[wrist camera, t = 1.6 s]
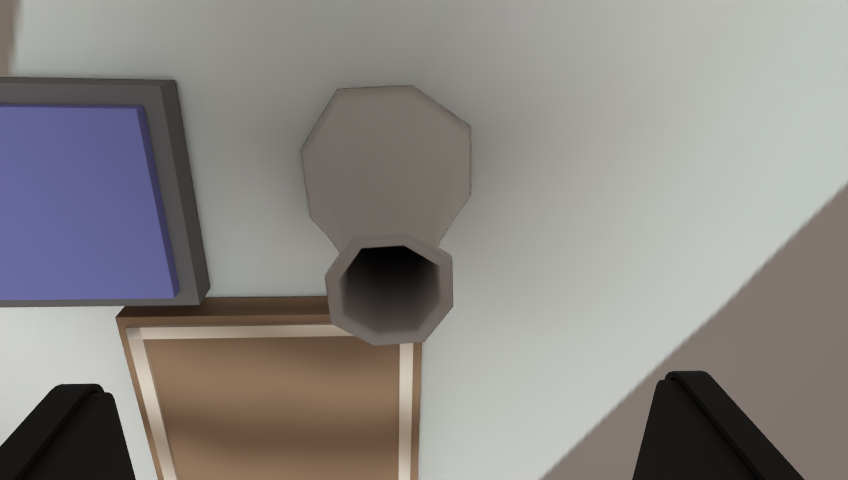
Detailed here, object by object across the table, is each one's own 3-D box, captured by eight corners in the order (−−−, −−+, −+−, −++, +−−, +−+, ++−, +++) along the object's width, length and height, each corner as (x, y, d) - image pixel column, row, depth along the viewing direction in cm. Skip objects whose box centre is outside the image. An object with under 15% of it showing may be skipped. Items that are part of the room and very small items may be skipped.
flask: (445, 264, 24) (482, 428, 14) (285, 228, 22) (217, 383, 13) (498, 109, 21) (586, 192, 12) (319, 57, 19) (262, 105, 10)
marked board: (131, 298, 23) (113, 320, 22) (420, 295, 24) (423, 315, 22) (180, 500, 29) (168, 529, 27) (415, 491, 29) (416, 518, 28)
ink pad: (-82, 75, 19) (-132, 83, 17) (174, 80, 19) (153, 88, 18) (-3, 290, 22) (-37, 315, 21) (209, 288, 23) (194, 312, 21)
